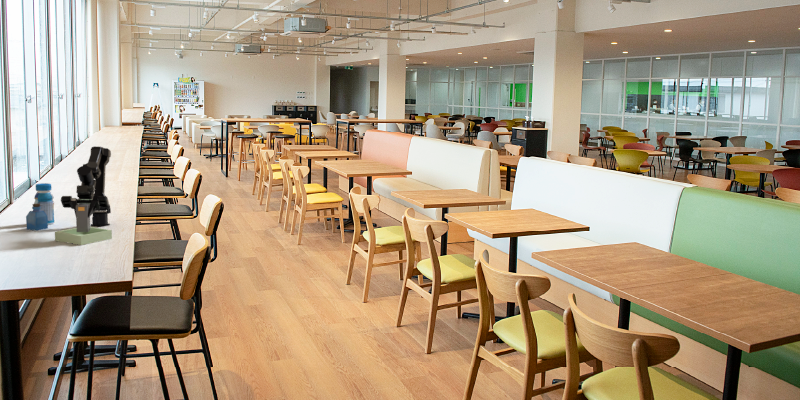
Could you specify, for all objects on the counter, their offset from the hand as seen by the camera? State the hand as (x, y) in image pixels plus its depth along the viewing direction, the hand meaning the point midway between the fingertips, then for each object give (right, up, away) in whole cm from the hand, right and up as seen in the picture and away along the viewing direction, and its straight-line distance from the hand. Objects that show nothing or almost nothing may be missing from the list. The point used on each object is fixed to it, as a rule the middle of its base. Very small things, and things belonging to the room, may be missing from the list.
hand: (82, 217), depth 266 cm
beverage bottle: (-37, -4, +33) cm, 50 cm away
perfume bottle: (-33, -6, +21) cm, 40 cm away
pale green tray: (-1, -10, +3) cm, 11 cm away
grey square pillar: (-1, -6, +2) cm, 7 cm away
